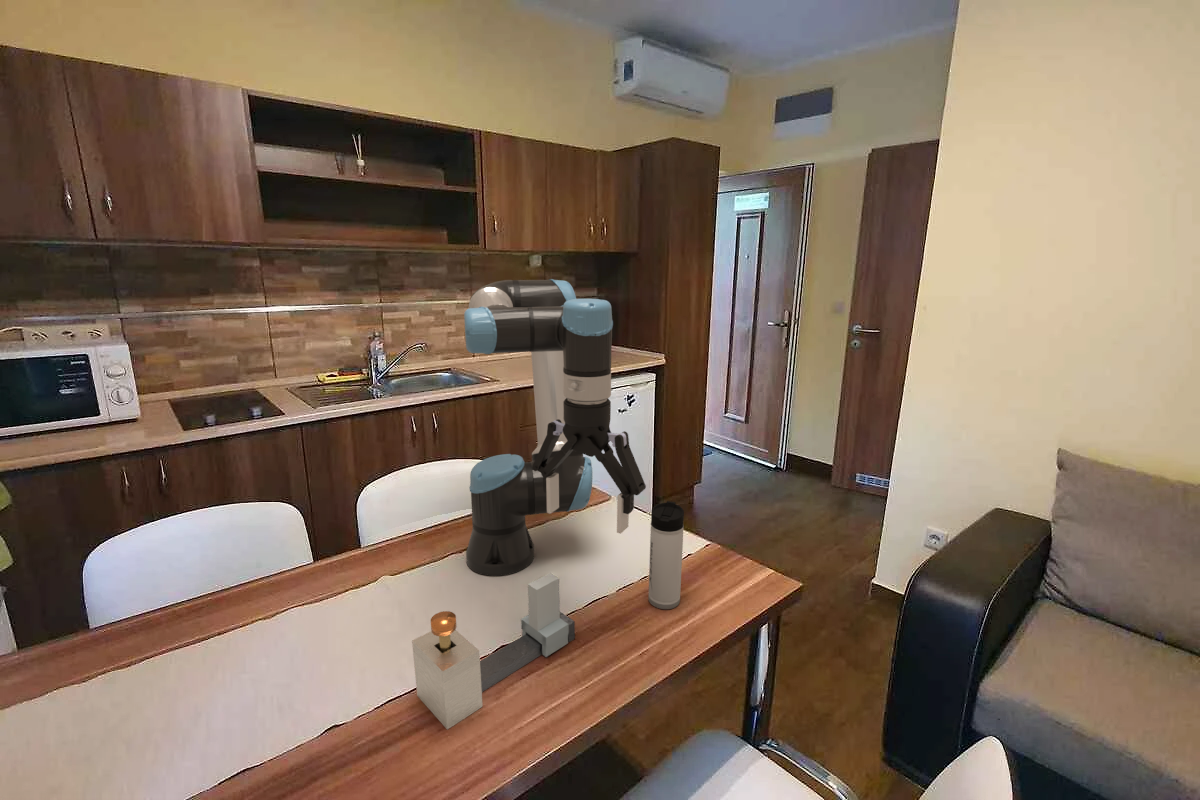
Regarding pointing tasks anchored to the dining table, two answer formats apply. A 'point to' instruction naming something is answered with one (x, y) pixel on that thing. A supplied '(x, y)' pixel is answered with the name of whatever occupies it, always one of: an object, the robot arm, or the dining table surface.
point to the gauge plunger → (443, 628)
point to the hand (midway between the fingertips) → (586, 519)
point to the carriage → (545, 615)
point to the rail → (466, 671)
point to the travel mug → (666, 555)
